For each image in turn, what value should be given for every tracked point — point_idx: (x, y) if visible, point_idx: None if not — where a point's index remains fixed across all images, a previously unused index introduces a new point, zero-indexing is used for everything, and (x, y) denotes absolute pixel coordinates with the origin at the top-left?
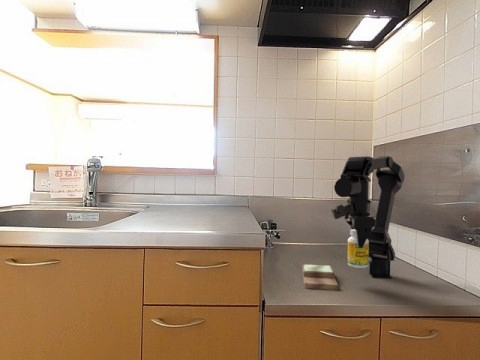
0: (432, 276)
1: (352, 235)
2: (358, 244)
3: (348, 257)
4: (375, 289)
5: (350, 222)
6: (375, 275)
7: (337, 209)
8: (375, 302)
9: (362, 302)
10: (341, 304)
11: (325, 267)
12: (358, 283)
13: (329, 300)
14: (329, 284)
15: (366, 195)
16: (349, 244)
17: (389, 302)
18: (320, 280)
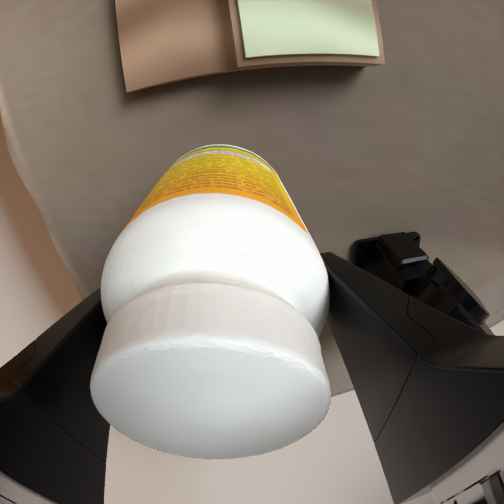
0: None
1: (132, 301)
2: (90, 295)
3: (186, 158)
4: None
5: (476, 423)
6: (365, 254)
7: None
8: (64, 227)
9: (45, 189)
10: (8, 131)
11: (334, 27)
12: None
13: (22, 88)
14: (121, 56)
15: None
16: (146, 204)
17: (86, 265)
18: (172, 10)
